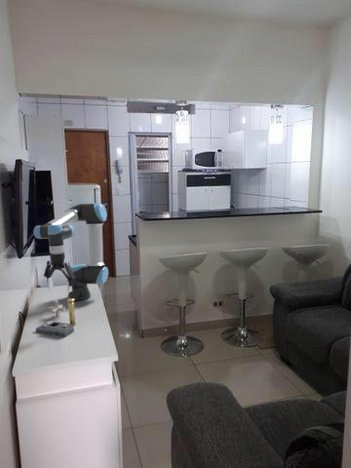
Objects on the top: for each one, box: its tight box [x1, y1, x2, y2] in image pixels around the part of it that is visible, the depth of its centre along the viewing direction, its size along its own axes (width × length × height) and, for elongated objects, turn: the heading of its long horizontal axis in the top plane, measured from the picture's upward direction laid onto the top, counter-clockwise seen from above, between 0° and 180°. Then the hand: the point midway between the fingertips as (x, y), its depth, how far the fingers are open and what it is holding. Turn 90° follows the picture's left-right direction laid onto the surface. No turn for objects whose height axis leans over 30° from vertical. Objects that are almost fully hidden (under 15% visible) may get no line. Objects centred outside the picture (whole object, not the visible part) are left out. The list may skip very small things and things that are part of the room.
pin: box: [66, 298, 76, 326], centre depth 201 cm, size 4×4×15 cm
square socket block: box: [35, 321, 75, 338], centre depth 193 cm, size 7×20×5 cm, turn 67°
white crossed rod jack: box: [48, 300, 66, 318], centre depth 213 cm, size 10×10×10 cm
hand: (60, 290), depth 197 cm, fingers open, 13 cm apart
